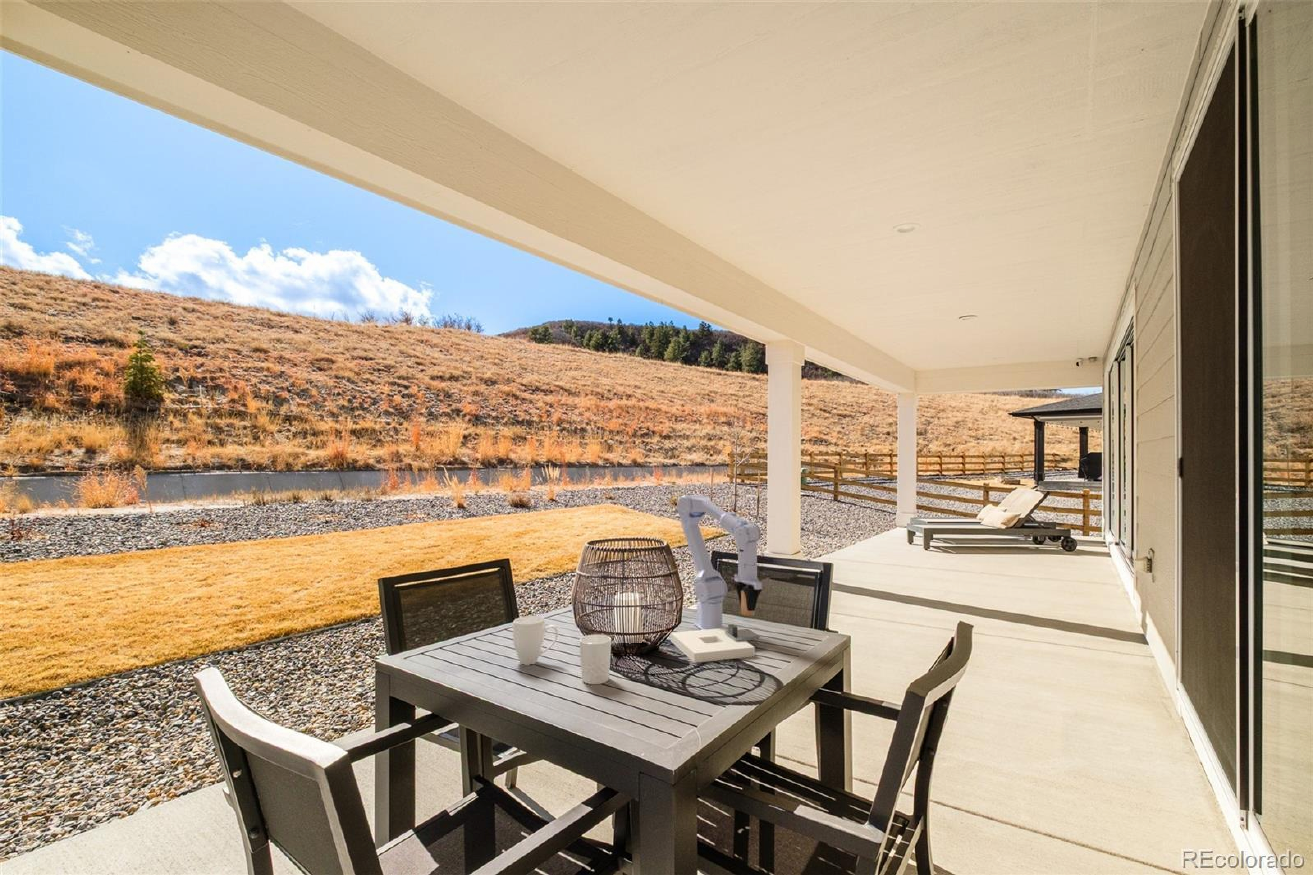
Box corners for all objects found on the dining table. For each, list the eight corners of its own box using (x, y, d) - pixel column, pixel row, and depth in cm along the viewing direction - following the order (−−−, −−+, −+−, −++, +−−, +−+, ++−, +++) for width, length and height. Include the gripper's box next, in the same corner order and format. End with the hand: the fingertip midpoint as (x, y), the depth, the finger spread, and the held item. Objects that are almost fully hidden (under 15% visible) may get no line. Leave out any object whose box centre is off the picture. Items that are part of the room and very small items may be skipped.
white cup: (617, 677, 149) (617, 637, 150) (598, 688, 142) (599, 645, 143) (592, 671, 153) (592, 632, 154) (572, 681, 146) (573, 640, 147)
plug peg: (739, 612, 183) (739, 585, 183) (752, 612, 183) (752, 585, 183) (743, 615, 179) (743, 588, 179) (756, 615, 179) (756, 588, 180)
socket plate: (670, 641, 179) (670, 632, 179) (725, 635, 184) (725, 627, 185) (694, 662, 160) (694, 653, 160) (754, 656, 165) (754, 647, 165)
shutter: (725, 633, 178) (724, 622, 178) (748, 631, 180) (747, 620, 180) (735, 641, 171) (735, 629, 171) (759, 638, 173) (759, 627, 173)
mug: (509, 668, 156) (509, 624, 156) (516, 657, 164) (517, 615, 165) (555, 667, 156) (555, 624, 156) (560, 657, 164) (560, 615, 165)
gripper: (725, 560, 187) (725, 604, 187) (746, 568, 173) (746, 615, 173) (745, 559, 189) (745, 602, 189) (767, 567, 176) (768, 613, 175)
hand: (747, 608), depth 181 cm, fingers closed on plug peg, 4 cm apart
